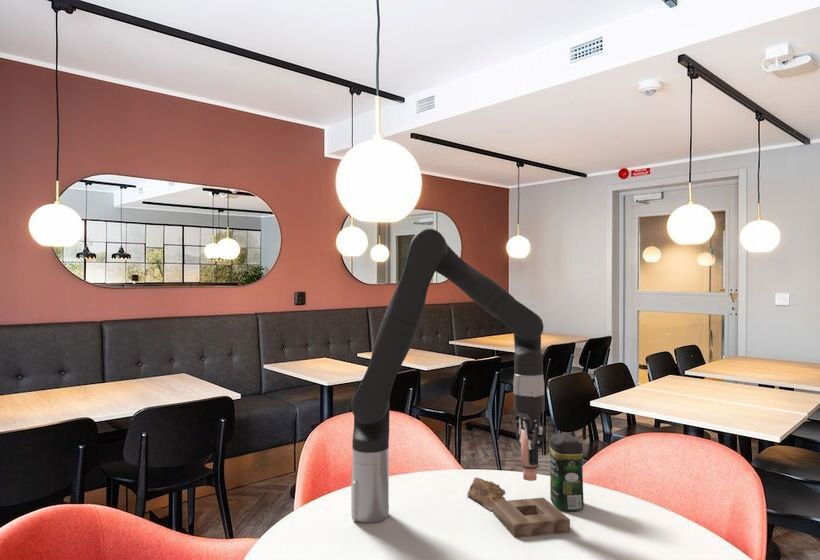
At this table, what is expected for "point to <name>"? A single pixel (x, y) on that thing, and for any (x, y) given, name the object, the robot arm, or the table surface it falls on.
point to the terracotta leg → (527, 459)
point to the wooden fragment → (485, 493)
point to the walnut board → (531, 517)
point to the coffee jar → (566, 472)
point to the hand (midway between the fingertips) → (529, 461)
